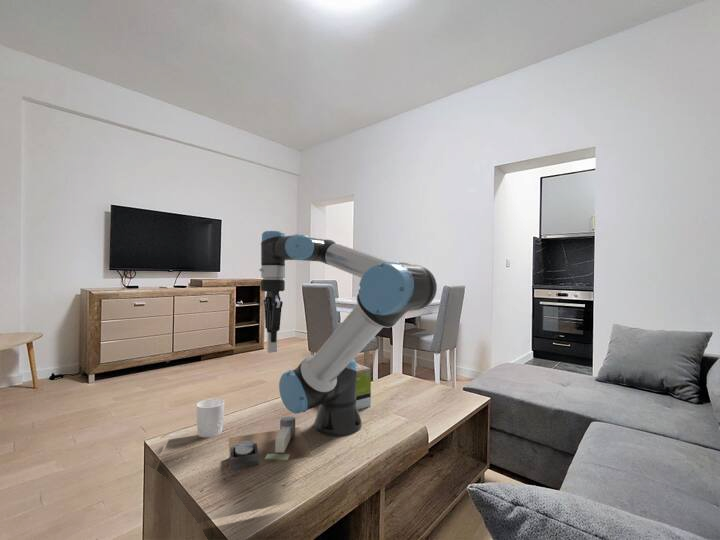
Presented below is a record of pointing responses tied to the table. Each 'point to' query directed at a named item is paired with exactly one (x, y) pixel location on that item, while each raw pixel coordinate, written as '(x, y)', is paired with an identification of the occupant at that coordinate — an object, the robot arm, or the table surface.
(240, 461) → the board
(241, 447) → the button
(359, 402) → the tea box
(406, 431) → the table surface
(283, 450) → the peg lever
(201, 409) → the white cup
